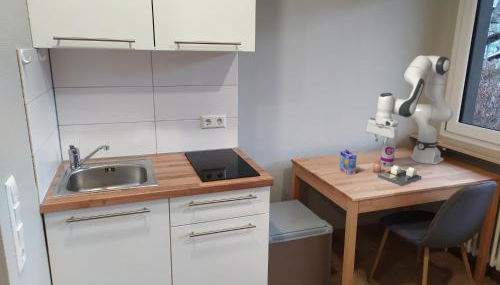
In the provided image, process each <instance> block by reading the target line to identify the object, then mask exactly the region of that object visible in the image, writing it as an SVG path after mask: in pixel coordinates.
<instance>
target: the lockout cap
mask: <svg viewBox="0 0 500 285" xmlns="http://www.w3.org/2000/svg"><path fill="white" fill-rule="evenodd" d="M382 166H383V165H382V163H380V161H379V160H376V161H374V162H373V168H372V173H374V174H380V173H382Z"/></svg>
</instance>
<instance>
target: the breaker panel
mask: <svg viewBox="0 0 500 285" xmlns="http://www.w3.org/2000/svg"><path fill="white" fill-rule="evenodd" d="M406 171H407V170H406V169H401V173H398V174H397V175H395V174H392V173H391V169H390V170H388V171H387V170H386V171H384V172H381V173H377V178H379V179H381V180H385V181H387V182H390V183H393V184H395V185H398V186H405V185H408V184H411V183H414V182H418V181H421V180H422V175H419V174H416V175H414V176H408V175H406Z"/></svg>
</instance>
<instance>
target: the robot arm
mask: <svg viewBox="0 0 500 285" xmlns="http://www.w3.org/2000/svg"><path fill="white" fill-rule="evenodd" d="M450 66H451V61H450V59H449V58H448V57H447V56H443V55H442V56H441V55H440V56H439V55H418V56H416V57H415V58H414V59H413V60H412V61H411V63H409V65H408V67H407V68H406V70H405V71H404V74H403V79H404V81H405V83H406V84H407V85H408V86H410V87H411V88H412V89H411V92H410V95H409V96H408V97H409V98H407V99H402V98H398V97H396V96H394V95H393V94H394V93H391V92H382V93H380V94H379V95H378V98H377V104H376V113H375V118H373V117H370V118H368V120H367V125H366V133H369V134H372V136H373V138H374V142H375V143H376V142H378V141H379V138H378V136H381V137H384V140H383V141H382V144H387V141H388V142H389V139H391V140H392V139H393V140H395V139H397V138H398V137H399V121H397V120H396V119H394V118H392V116H393V115H397V116H400V117H403V118H412V119H413V120H414V121H415V123H416V124H417V127H418V136H417V140H416V145H415V146H414V148H413V153H412V155H411V156H410V158H411V159H412V161H414V162H417V163H421V164H426V165H427V164H428V165H438V164H440V163H441V162H443V161H444V158H443V157H441V151H440V149H439V148H438V147H437V145H439V143H440V142H439V141H437V136H438V131H437V129H436V128H435V127H434V126H432V125H430V124H429V122H437V123H444V122H445V123H446V122H447V123H448V122H449V121H451V120H452V118H453V116H454V111H453V109H452V107H450V106H449V105H448V103H447V102H446V99H445V88H446V87H445V86H446V83H447V82H446V77H447V72H448V71H449V70H450ZM426 75H427V79H426V84H425V80H424V78H425V76H426ZM424 88H425V89H424ZM423 90H424V96H425V97H426V98H427V99H429V100H430V101H432V102H433V104H428V103H418V102H419V100H420V97H421V95H422V93H423ZM392 114H393V115H392Z"/></svg>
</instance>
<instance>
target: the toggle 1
mask: <svg viewBox="0 0 500 285" xmlns="http://www.w3.org/2000/svg"><path fill="white" fill-rule="evenodd" d="M390 170H391V173H392V174H395V175H397V174H398V173H401V170H402V167H401V166H399V165H396V164H393V165H392V166H390Z"/></svg>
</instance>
